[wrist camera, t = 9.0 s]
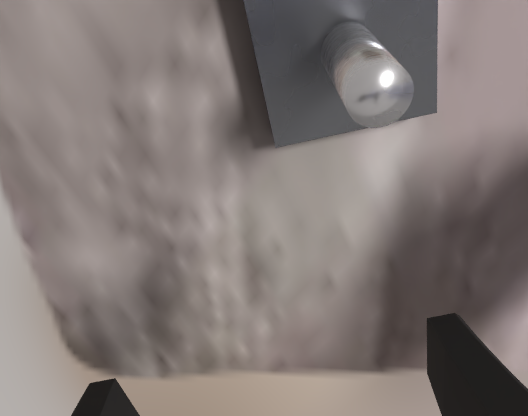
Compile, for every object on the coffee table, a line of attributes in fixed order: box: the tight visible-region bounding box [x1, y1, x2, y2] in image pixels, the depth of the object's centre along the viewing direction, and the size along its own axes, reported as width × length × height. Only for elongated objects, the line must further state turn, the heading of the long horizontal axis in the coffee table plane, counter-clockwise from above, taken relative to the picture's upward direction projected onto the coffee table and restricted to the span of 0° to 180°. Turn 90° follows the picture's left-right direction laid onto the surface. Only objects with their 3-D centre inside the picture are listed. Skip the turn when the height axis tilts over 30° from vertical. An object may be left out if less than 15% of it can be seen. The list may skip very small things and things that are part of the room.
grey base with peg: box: [243, 0, 438, 148], centre depth 14 cm, size 6×6×5 cm
